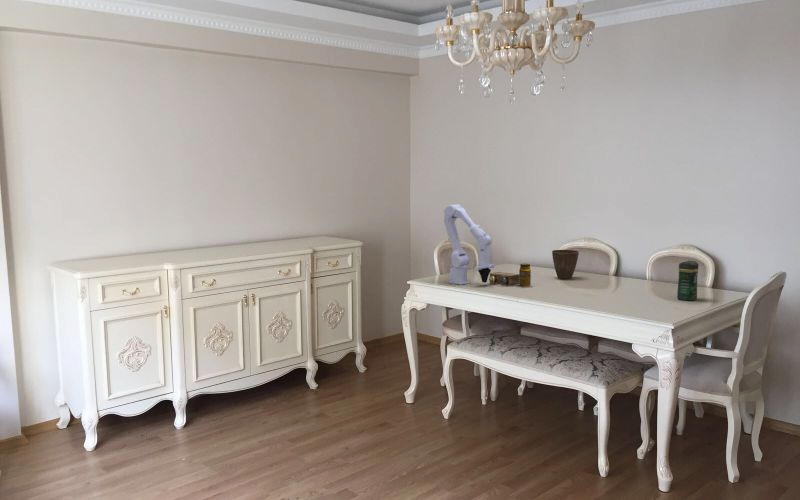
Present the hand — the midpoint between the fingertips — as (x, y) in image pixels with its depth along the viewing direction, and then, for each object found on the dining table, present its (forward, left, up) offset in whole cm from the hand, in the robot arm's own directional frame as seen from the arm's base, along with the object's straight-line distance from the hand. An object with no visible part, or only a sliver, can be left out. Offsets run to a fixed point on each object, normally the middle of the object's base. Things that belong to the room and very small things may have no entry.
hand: (484, 282), depth 363 cm
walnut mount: (+4, +13, -2) cm, 13 cm away
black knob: (+8, +10, -1) cm, 13 cm away
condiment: (+16, +14, -2) cm, 21 cm away
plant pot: (+19, +50, -2) cm, 53 cm away
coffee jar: (+95, +36, -2) cm, 101 cm away
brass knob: (0, +10, -1) cm, 10 cm away
